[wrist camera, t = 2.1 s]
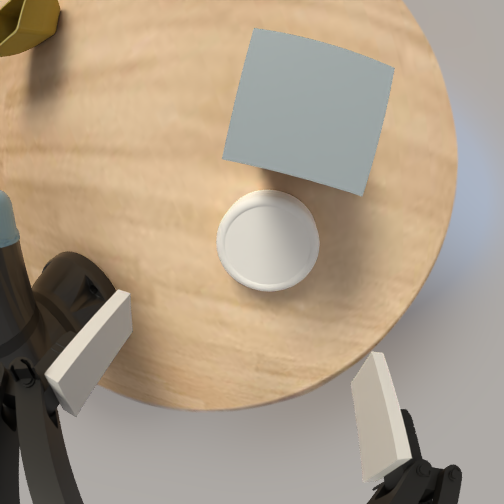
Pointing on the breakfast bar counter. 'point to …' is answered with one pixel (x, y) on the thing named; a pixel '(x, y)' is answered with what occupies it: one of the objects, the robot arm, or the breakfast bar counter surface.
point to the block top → (308, 110)
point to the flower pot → (26, 24)
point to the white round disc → (268, 240)
